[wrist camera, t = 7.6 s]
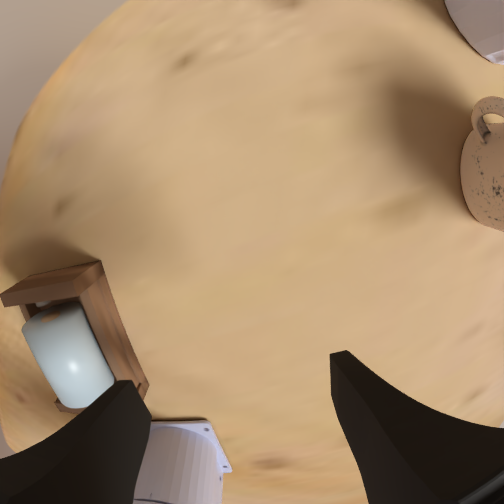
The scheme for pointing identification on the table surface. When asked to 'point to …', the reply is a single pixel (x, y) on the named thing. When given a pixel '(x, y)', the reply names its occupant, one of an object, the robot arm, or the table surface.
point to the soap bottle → (481, 25)
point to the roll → (68, 354)
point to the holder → (96, 311)
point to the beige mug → (485, 165)
